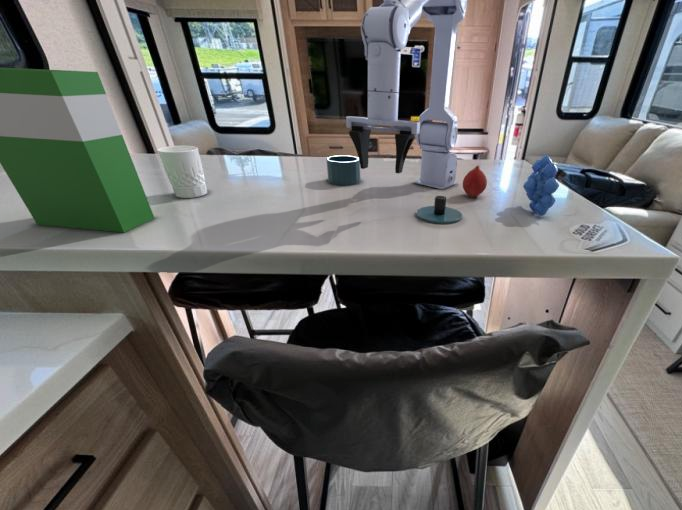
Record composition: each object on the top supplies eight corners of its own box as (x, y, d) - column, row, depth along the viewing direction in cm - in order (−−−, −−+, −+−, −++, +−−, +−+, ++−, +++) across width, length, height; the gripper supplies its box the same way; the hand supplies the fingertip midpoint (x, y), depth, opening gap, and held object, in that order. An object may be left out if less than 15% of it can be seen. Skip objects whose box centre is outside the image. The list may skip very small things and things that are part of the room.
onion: (456, 196, 86) (460, 163, 81) (474, 194, 88) (479, 161, 83) (469, 203, 81) (474, 168, 77) (488, 200, 83) (494, 167, 79)
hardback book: (37, 224, 62) (-58, 66, 48) (74, 211, 68) (-1, 67, 54) (124, 232, 60) (51, 71, 47) (154, 218, 66) (97, 71, 53)
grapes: (508, 203, 82) (519, 151, 75) (534, 204, 82) (548, 151, 76) (526, 221, 72) (541, 162, 65) (556, 221, 73) (574, 163, 66)
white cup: (164, 196, 78) (148, 149, 72) (193, 187, 84) (180, 144, 78) (189, 201, 75) (174, 153, 70) (217, 192, 82) (205, 147, 76)
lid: (458, 211, 76) (461, 191, 73) (464, 227, 68) (467, 206, 65) (415, 209, 76) (416, 189, 73) (416, 225, 68) (417, 203, 65)
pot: (362, 177, 98) (361, 156, 94) (357, 186, 90) (357, 162, 87) (331, 176, 98) (330, 154, 94) (325, 184, 90) (323, 161, 87)
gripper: (337, 89, 60) (340, 168, 67) (414, 94, 56) (408, 178, 63) (355, 90, 66) (356, 163, 73) (425, 95, 62) (419, 172, 69)
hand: (381, 170), depth 68 cm, fingers open, 7 cm apart
